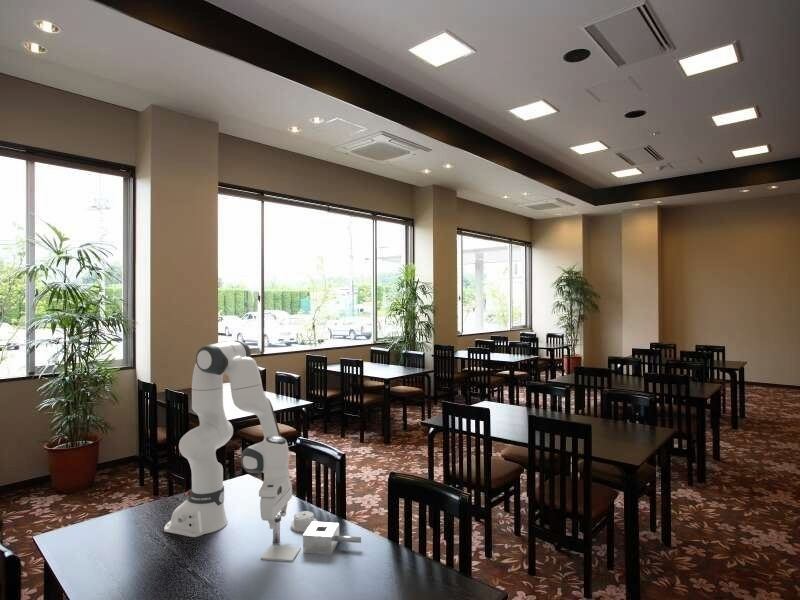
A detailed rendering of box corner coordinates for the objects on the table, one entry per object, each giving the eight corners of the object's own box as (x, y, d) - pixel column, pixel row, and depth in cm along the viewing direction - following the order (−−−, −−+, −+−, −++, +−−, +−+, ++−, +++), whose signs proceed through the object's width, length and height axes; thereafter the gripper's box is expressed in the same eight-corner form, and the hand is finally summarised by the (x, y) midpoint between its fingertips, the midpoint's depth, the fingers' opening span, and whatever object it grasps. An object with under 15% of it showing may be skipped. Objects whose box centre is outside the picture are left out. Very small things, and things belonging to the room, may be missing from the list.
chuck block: (303, 552, 161) (303, 534, 161) (312, 537, 170) (312, 521, 170) (357, 556, 158) (357, 538, 158) (363, 541, 168) (363, 524, 168)
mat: (260, 559, 156) (260, 557, 156) (270, 547, 164) (270, 545, 164) (292, 561, 155) (292, 560, 155) (300, 549, 163) (300, 547, 163)
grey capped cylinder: (270, 543, 167) (270, 517, 167) (274, 538, 170) (274, 513, 170) (279, 543, 166) (278, 518, 166) (282, 539, 169) (282, 514, 170)
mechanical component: (313, 533, 174) (320, 520, 184) (313, 521, 174) (320, 509, 184) (287, 532, 175) (295, 519, 185) (286, 520, 175) (295, 508, 185)
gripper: (279, 472, 179) (281, 508, 179) (256, 494, 158) (257, 535, 158) (295, 472, 178) (296, 509, 178) (274, 494, 158) (275, 535, 157)
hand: (278, 521), depth 168 cm, fingers open, 8 cm apart
